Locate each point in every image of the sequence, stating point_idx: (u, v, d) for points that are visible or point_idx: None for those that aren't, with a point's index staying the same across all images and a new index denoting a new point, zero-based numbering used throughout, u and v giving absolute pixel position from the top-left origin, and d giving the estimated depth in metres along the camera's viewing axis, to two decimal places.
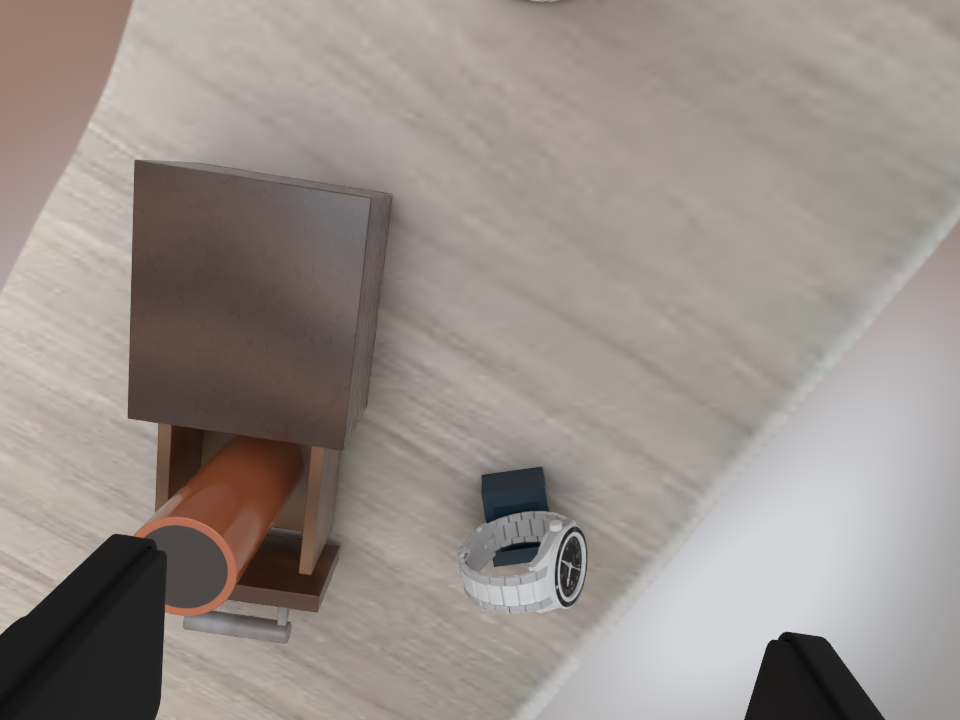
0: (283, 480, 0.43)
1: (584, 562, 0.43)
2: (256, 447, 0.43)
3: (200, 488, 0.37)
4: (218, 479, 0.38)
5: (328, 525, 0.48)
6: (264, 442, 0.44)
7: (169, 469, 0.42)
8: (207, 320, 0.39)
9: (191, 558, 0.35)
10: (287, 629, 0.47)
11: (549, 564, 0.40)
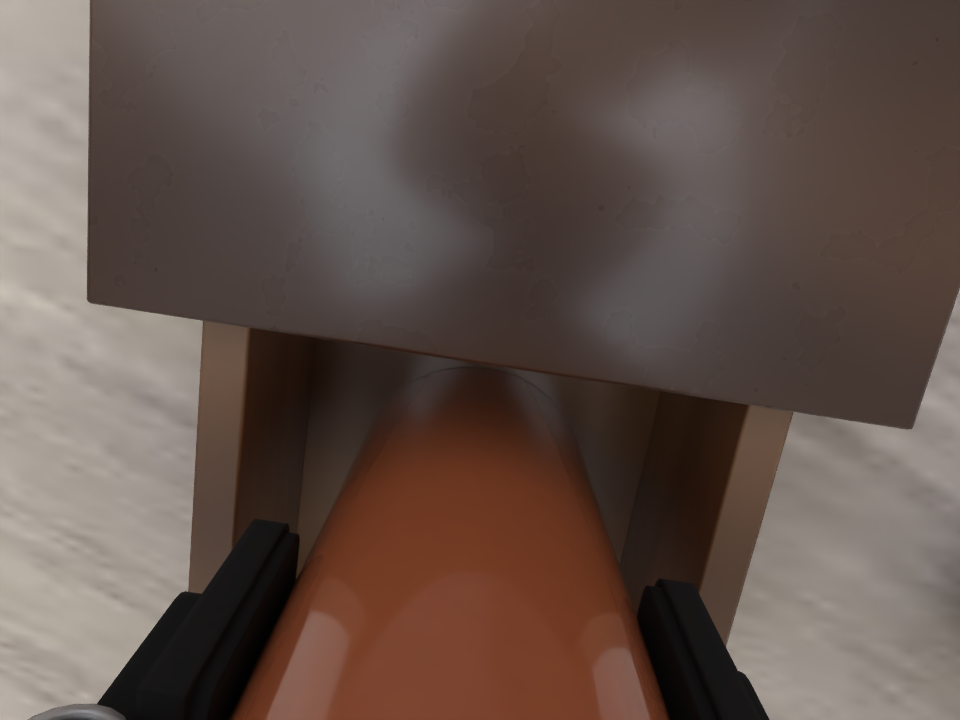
0: None
1: None
2: (515, 425, 0.13)
3: (443, 617, 0.07)
4: (487, 554, 0.08)
5: None
6: (520, 409, 0.14)
7: (237, 497, 0.12)
8: None
9: None
10: None
11: None
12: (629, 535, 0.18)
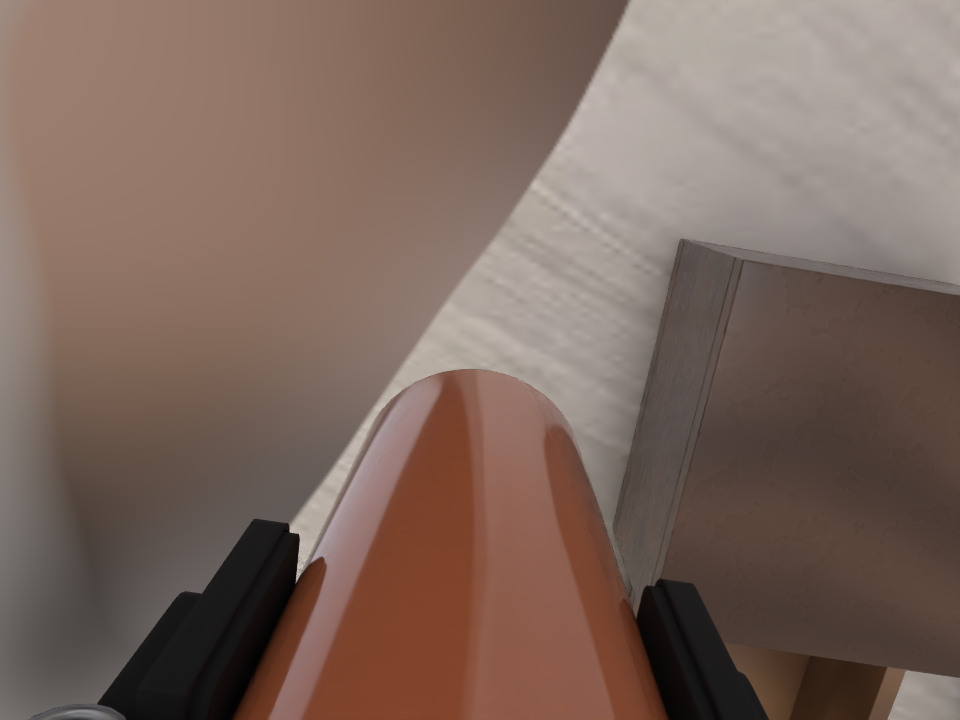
0: None
1: None
2: (515, 427, 0.13)
3: (443, 622, 0.07)
4: (487, 556, 0.09)
5: None
6: (520, 411, 0.14)
7: None
8: (801, 496, 0.25)
9: None
10: None
11: None
12: (805, 681, 0.34)
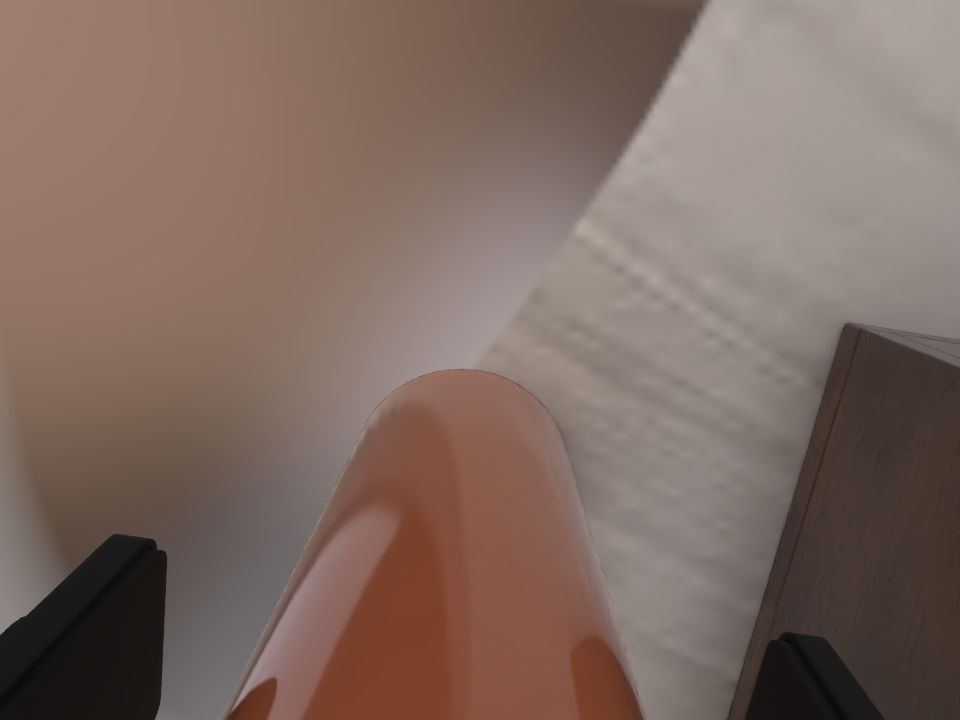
0: None
1: None
2: (501, 424, 0.14)
3: (429, 593, 0.08)
4: (470, 539, 0.09)
5: None
6: (506, 408, 0.15)
7: None
8: None
9: None
10: None
11: None
12: None
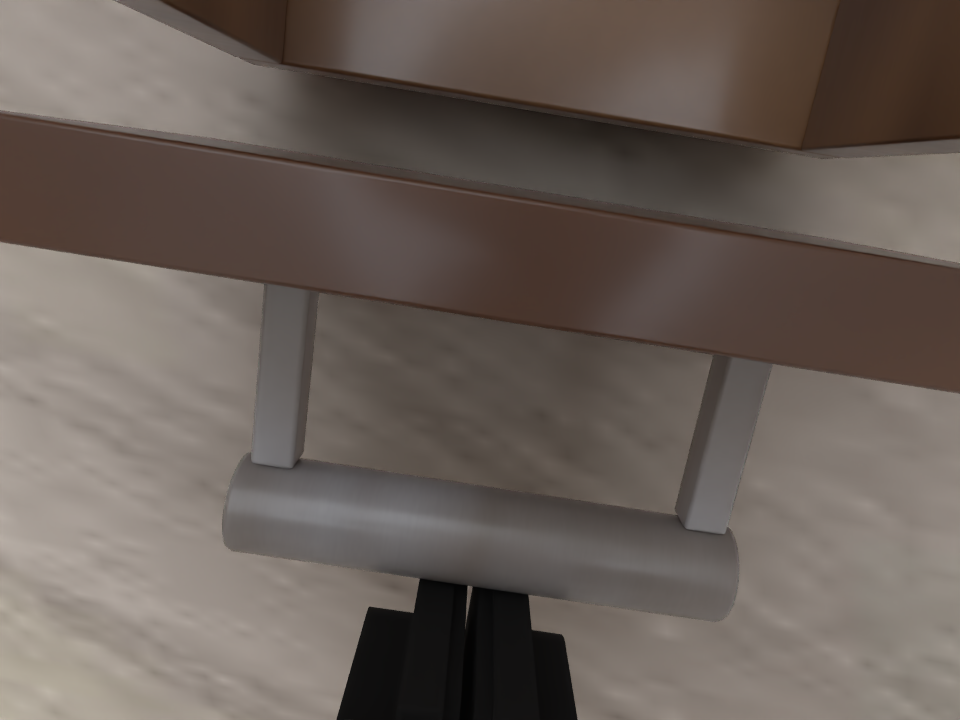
0: None
1: None
2: None
3: None
4: None
5: None
6: None
7: None
8: None
9: None
10: (735, 552, 0.10)
11: None
12: None
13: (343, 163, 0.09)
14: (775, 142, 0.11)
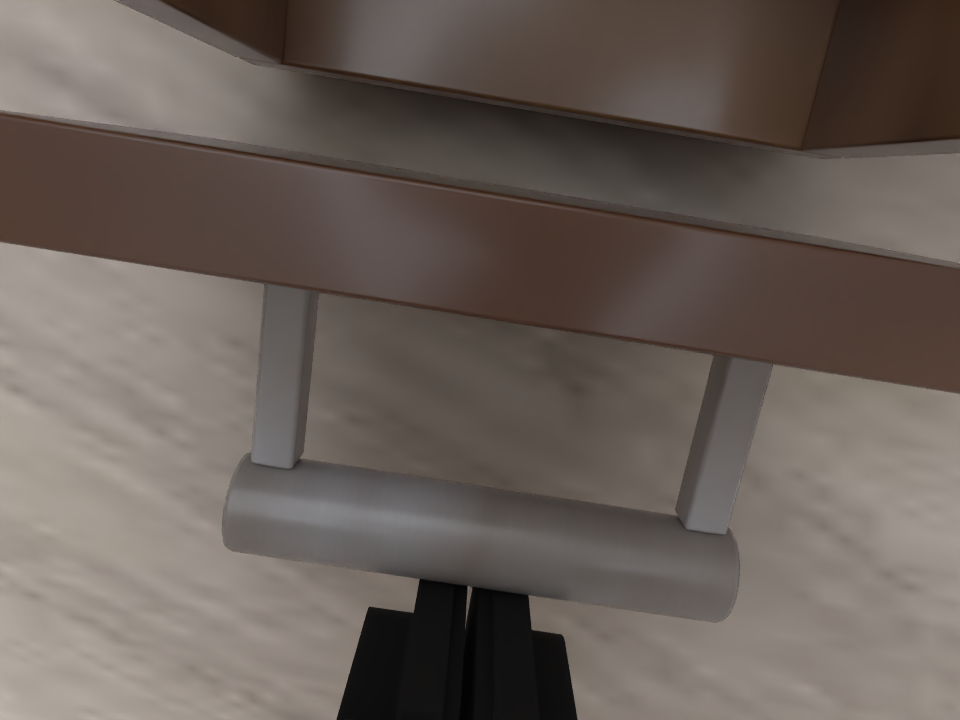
0: None
1: None
2: None
3: None
4: None
5: None
6: None
7: None
8: None
9: None
10: (736, 552, 0.10)
11: None
12: None
13: (343, 163, 0.09)
14: (776, 142, 0.11)
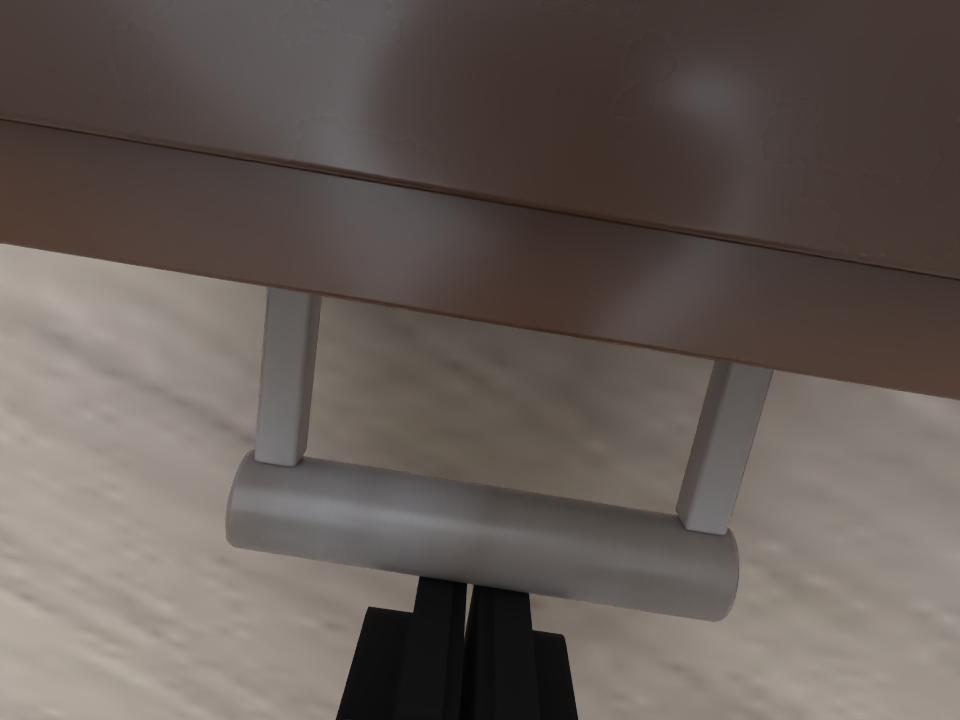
0: None
1: None
2: None
3: None
4: None
5: None
6: None
7: None
8: None
9: None
10: (735, 553, 0.10)
11: None
12: None
13: None
14: None
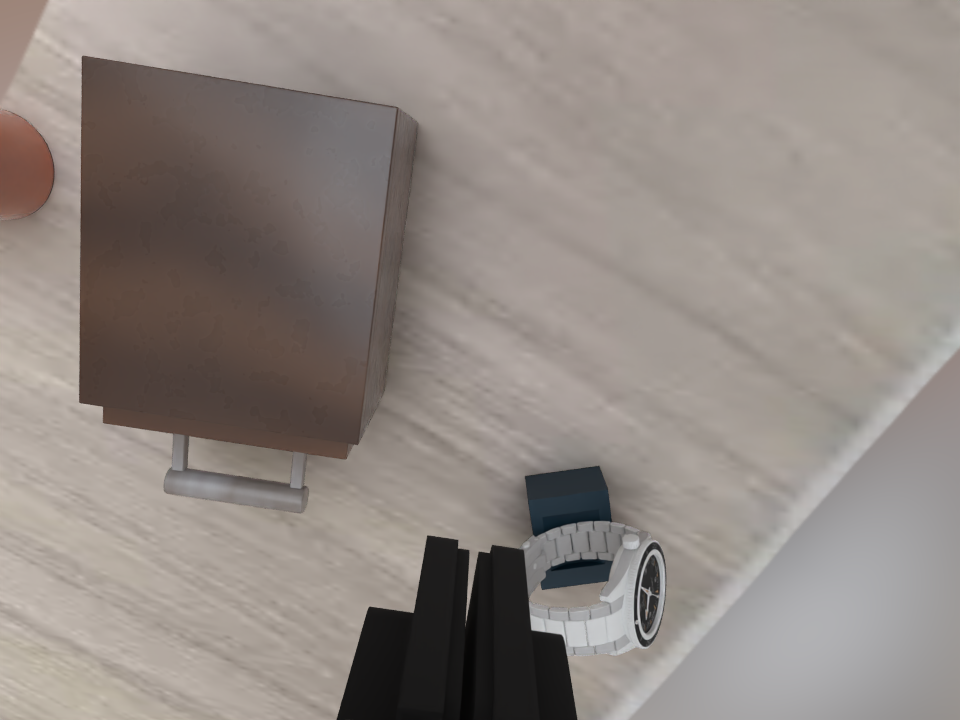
0: None
1: (663, 587, 0.34)
2: None
3: None
4: None
5: None
6: None
7: None
8: (181, 273, 0.29)
9: None
10: (303, 493, 0.35)
11: (626, 592, 0.31)
12: None
13: None
14: None
